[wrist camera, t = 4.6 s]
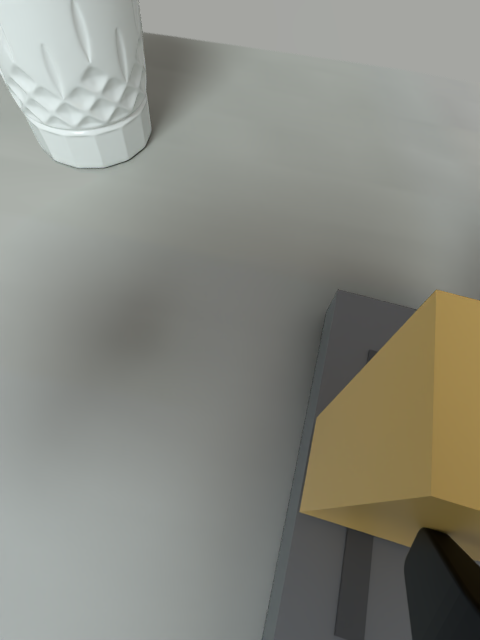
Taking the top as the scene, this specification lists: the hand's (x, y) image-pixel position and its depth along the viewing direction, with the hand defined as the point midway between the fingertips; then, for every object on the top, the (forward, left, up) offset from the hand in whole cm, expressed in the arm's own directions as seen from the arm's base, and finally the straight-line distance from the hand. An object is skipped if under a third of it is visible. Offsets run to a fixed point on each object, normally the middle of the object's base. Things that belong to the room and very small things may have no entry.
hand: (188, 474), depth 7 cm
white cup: (+18, +13, -7) cm, 23 cm away
